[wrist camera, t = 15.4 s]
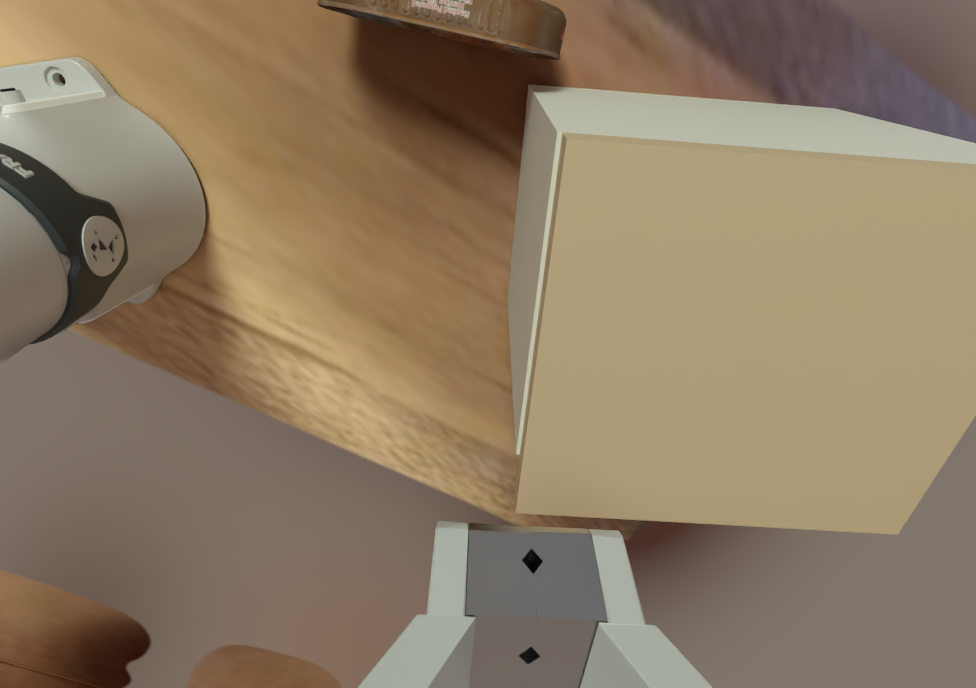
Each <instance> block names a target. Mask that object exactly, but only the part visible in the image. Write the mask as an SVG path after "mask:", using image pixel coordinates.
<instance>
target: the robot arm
mask: <svg viewBox="0 0 976 688" xmlns="http://www.w3.org/2000/svg"><path fill="white" fill-rule="evenodd" d="M60 74H61V75H62V76H63V77H64V78H65V84H63V83H62V82H61V80H60V78H59V75H60ZM205 220H206V211H205V202H204V197H203V192H202V189H201V186H200V183H199V180H198V178H197V176H196V173H195V171H194V169H193V167H192V165H191V164H190V162H189V160H188V159H187V157H186V156H185V154H184V153H183V151H182V150H181V149H180V147H179V146H178V145H177V144H176V142H175V141H174V140H173V139H172V138H171V137H170V136H169V135H168V134H167V133H166V132H165V131H164V130H163V129H162V128H161V127H160V126H159V125H158V124H156V123H155V122H154V121H153V120H151V119H150V118H149V117H147V116H146V115H145V114H143V113H142V112H140V111H139V110H137V109H136V108H134V107H133V106H131V105H130V104H128V103H127V102H126V101H124V100H123V99H122V98H121V97H119V96H118V95H117V93H116V92H115V91H114V90H113V88H112V87H111V86H110V85H109V83H108V82H107V81H106V80H105V79H104V77H103V76H102V75H101V74H100V73H99V72H98V71H97V70H96V69H95V68H94V67H93V66H92V65H91V64H90V63H89V62H87V61H86V60H84V59H82V58H79V57H67V58H60V59H53V60H46V61H39V62H33V63H26V64H19V65H12V66H5V67H0V365H1V364H2V363H3V362H5V361H6V360H8V359H9V358H10V357H12V356H13V355H15V354H16V353H17V352H19V351H20V350H22V349H23V348H24V347H26V346H27V345H29V344H35V343H38V342H41V341H44V340H46V339H48V338H50V337H52V336H54V335H56V334H58V333H61V332H62V331H65V330H66V329H68V328H69V327H72V326H73V325H75V324H76V323H79V324H84V323H88V322H91V321H93V320H95V319H96V318H98V317H100V316H102V315H103V314H105V313H107V312H109V311H110V310H112V309H114V308H116V307H117V306H119V305H121V304H123V303H124V302H129V303H134V304H141V303H144V302H145V301H147V300H149V299H151V298H152V297H153V296H154V295H155V293H156V292H157V290H158V288H159V286H160V284H161V282H162V280H163V278H164V277H165V276H166V275H168V274H169V273H170V272H172V271H174V270H175V269H177V268H178V267H180V266H182V265H183V264H184V263H185V262H187V261H188V260H189V259H190V258H191V256H192V255H193V254H194V253H195V251H196V250H197V248H198V246H199V244H200V242H201V239H202V237H203V233H204V228H205ZM358 688H712V687H711V685H710V684H709V683H708V682H707V681H706V680H705V679H704V678H703V677H702V676H701V674H699V672H698V671H697V670H696V669H695V668H694V667H693V666H692V665H691V664H690V662H689V661H688V660H687V659H686V658H685V657H684V656H683V655H682V654H681V653H680V652H679V650H678V649H676V647H675V646H674V645H673V644H672V643H671V642H670V641H669V640H668V638H667V637H666V636H665V635H664V634H663V633H662V632H661V631H660V630H659V629H658V627H656V625H646V623H645V620H644V616H643V612H642V608H641V604H640V600H639V597H638V593H637V589H636V586H635V581H634V578H633V574H632V570H631V566H630V563H629V559H628V555H627V551H626V547H625V544H624V540H623V536H622V535H621V533H620V532H619V531H614V530H594V529H588V530H587V529H583V528H557V527H532V526H528V527H517V526H504V525H491V524H479V523H469V529H468V523H461V522H447V521H438V523H437V527H436V532H435V541H434V551H433V560H432V569H431V578H430V587H429V597H428V606H427V614H417V615H416V616H415V617H414V618H413V620H412V621H411V622H410V623H409V625H408V626H407V627H406V628H405V630H404V631H403V632H402V633H401V634H400V636H399V637H398V638H397V640H396V641H395V642H394V643H393V644H392V646H391V647H390V648H389V649H388V651H387V652H386V653H385V654H384V655H383V657H382V658H381V659H380V660H379V662H378V663H377V664H376V665H375V667H374V668H373V669H372V670H371V672H370V673H369V674H368V676H367V677H366V678H365V679H364V680H363V681H362V683H361V684H360V685H359V686H358Z"/></svg>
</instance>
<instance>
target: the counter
mask: <svg viewBox="0 0 976 688" xmlns="http://www.w3.org/2000/svg"><path fill="white" fill-rule="evenodd" d="M507 301H508V319H509V337H510V355H511V373H512V391H513V409H514V427H515V444H516V454H519V463H518V471H517V478H516V486H515V493H514V494H515V513H520V514H538V515H556V516H574V517H592V518H610V519H628V520H646V521H665V522H682V523H701V524H718V525H736V526H754V527H755V526H756V527H772V528H790V529H808V530H809V529H810V530H826V531H845V532H862V533H881V534H898V533H899V532H900V530H901V528H902V527H903V525H904V524H905V522H906V521H907V519H908V518H909V516H910V515H911V513H912V511H913V510H914V509H915V507H916V506H917V504H918V502H919V501H920V500H921V498H922V496H923V495H924V493H925V492H926V490H927V489H928V487H929V486H930V484H931V483H932V481H933V479H934V478H935V477H936V475H937V474H938V472H939V471H940V469H941V467H942V466H943V464H944V463H945V461H946V460H947V458H948V457H949V455H950V454H951V452H952V451H953V449H954V447H955V446H956V445H957V443H958V441H959V440H960V438H961V437H962V435H963V434H964V432H965V430H966V429H967V428H968V426H969V425H970V423H971V422H972V420H973V419H974V417H975V416H976V143H971V142H967V141H963V140H959V139H955V138H951V137H947V136H943V135H939V134H935V133H931V132H927V131H923V130H919V129H915V128H911V127H907V126H903V125H899V124H895V123H891V122H887V121H883V120H879V119H875V118H871V117H867V116H863V115H859V114H855V113H851V112H847V111H842V110H838V109H834V108H821V107H809V106H796V105H784V104H771V103H759V102H746V101H733V100H721V99H708V98H696V97H683V96H671V95H658V94H646V93H633V92H621V91H608V90H596V89H583V88H571V87H558V86H545V85H533V84H529V85H528V95H527V105H526V115H525V125H524V135H523V145H522V155H521V166H520V176H519V186H518V196H517V206H516V216H515V226H514V236H513V246H512V257H511V267H510V277H509V287H508V297H507Z"/></svg>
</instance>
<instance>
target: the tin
mask: <svg viewBox="0 0 976 688" xmlns="http://www.w3.org/2000/svg"><path fill="white" fill-rule="evenodd" d="M317 4H318V6H320V7H323V8H326V9H329V10H333V11H336V12H340V13H343V14H346V15H350V16H353V17H356V18H359V19H363V20H368V21H372V22H376V23H381V24H386V25H390V26H394V27H398V28H402V29H407V30H411V31H416V32H420V33H425V34H429V35H434V36H438V37H442V38H447V39H451V40H456V41H460V42H464V43H469V44H473V45H477V46H482V47H487V48H491V49H496V50H500V51H506V52H511V53H515V54H520V55H525V56H531V57H537V58H545V59H554V60H560V50H561V45H562V41H563V36H564V32H565V27H566V18H565V15H564V13H563V12H562V11H561V10H560V9H559V8H557V7H555V6H553V5H550V4H548V3H545V2H543V1H540V0H318V3H317Z"/></svg>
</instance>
